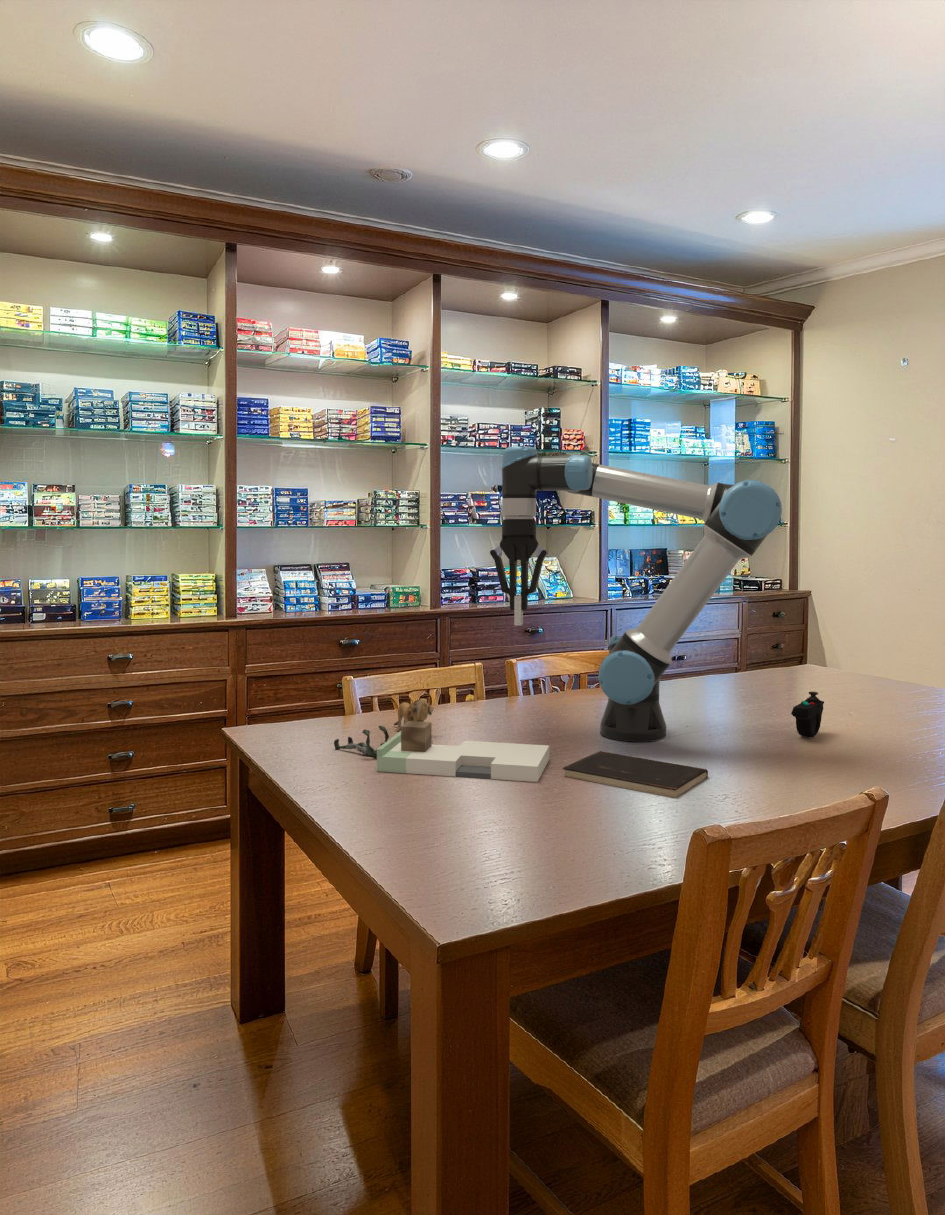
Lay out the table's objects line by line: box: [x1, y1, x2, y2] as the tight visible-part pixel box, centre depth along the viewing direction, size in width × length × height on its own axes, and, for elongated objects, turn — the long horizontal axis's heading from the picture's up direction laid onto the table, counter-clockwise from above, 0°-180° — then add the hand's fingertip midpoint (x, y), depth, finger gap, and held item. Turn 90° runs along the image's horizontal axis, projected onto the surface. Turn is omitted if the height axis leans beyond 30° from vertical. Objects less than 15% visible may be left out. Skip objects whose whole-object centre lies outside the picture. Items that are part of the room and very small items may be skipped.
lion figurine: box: [393, 698, 435, 733], centre depth 200 cm, size 15×5×9 cm, turn 37°
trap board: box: [376, 731, 550, 783], centre depth 173 cm, size 32×16×4 cm, turn 77°
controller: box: [790, 691, 825, 739], centre depth 196 cm, size 4×12×10 cm, turn 141°
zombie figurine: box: [333, 725, 390, 759], centre depth 182 cm, size 5×7×15 cm
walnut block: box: [401, 721, 433, 752], centre depth 175 cm, size 5×5×5 cm
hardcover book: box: [562, 750, 709, 798], centre depth 165 cm, size 16×23×2 cm
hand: (518, 624), depth 190 cm, fingers closed
